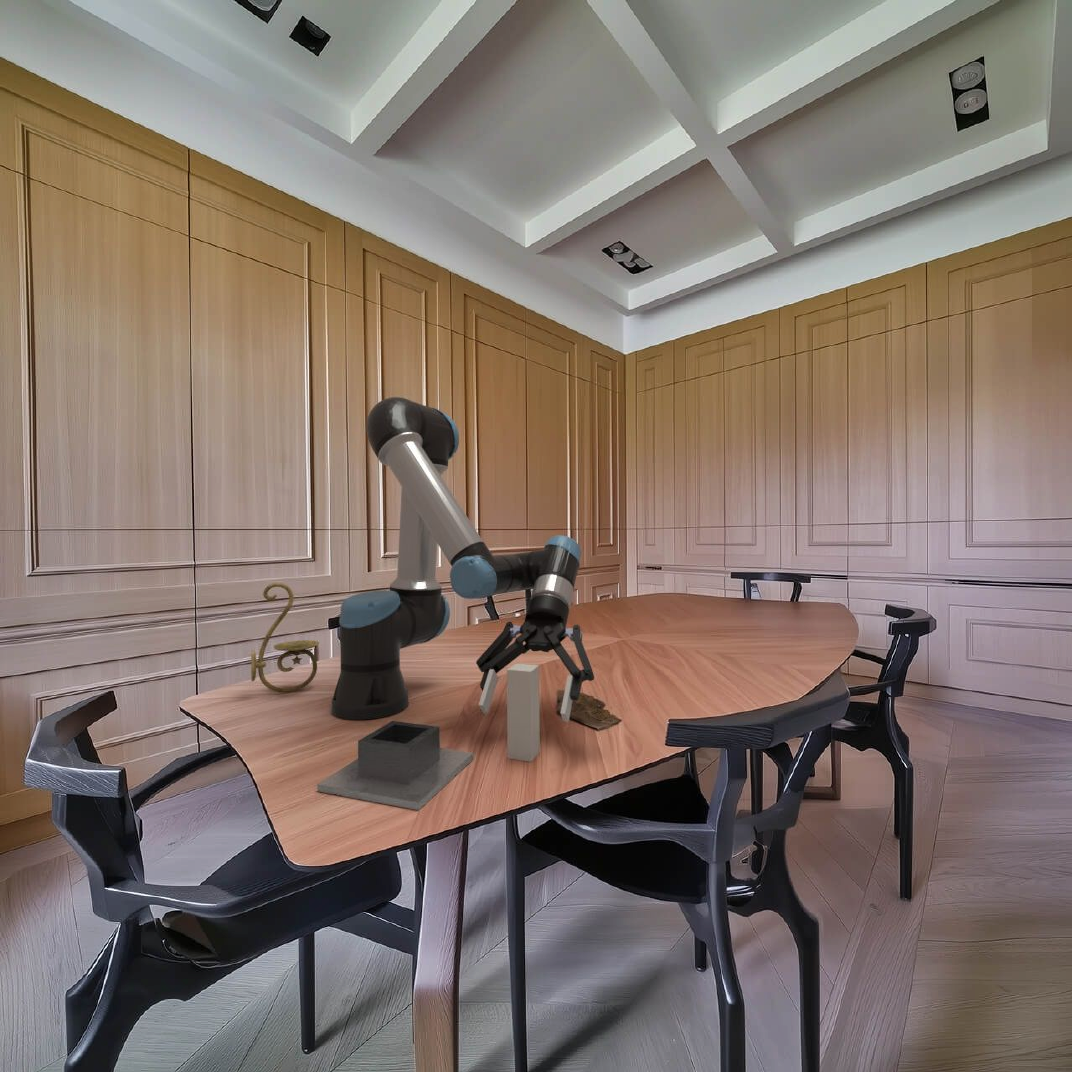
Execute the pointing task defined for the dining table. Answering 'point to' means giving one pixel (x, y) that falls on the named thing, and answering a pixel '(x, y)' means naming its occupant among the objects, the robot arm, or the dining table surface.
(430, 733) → the square post socket
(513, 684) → the rail post
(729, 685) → the dining table surface
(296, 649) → the wall sconce
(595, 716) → the wooden fragment
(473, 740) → the dining table surface
